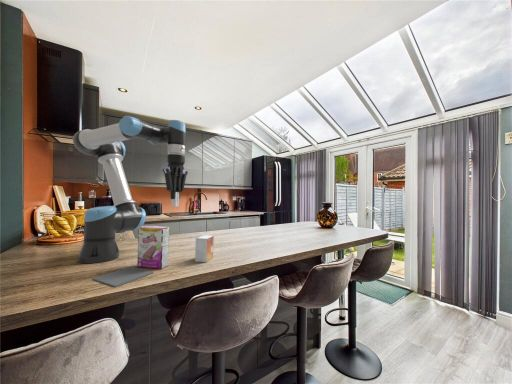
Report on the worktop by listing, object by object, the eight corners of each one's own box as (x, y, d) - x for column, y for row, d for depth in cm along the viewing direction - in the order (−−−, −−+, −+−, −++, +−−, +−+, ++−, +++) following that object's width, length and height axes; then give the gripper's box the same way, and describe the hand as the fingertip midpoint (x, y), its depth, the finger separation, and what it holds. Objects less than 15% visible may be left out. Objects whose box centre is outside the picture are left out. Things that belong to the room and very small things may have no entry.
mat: (92, 279, 74) (92, 278, 74) (131, 267, 87) (131, 266, 87) (115, 287, 68) (115, 286, 68) (153, 273, 81) (153, 272, 81)
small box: (206, 262, 95) (206, 238, 95) (194, 261, 96) (195, 238, 96) (213, 257, 103) (214, 235, 103) (202, 256, 104) (203, 234, 104)
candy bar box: (136, 267, 87) (137, 227, 87) (144, 263, 92) (145, 225, 92) (161, 269, 85) (162, 228, 85) (168, 265, 90) (169, 226, 90)
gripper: (170, 151, 91) (169, 207, 91) (192, 157, 103) (191, 206, 103) (158, 152, 95) (156, 206, 94) (181, 157, 107) (179, 205, 106)
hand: (175, 206), depth 99 cm, fingers closed
